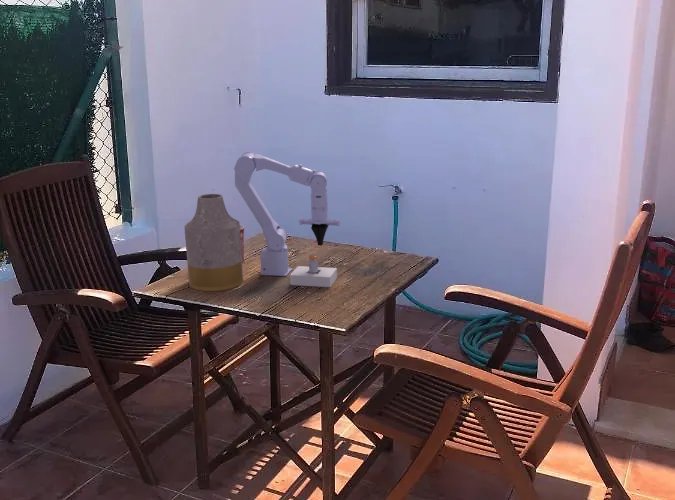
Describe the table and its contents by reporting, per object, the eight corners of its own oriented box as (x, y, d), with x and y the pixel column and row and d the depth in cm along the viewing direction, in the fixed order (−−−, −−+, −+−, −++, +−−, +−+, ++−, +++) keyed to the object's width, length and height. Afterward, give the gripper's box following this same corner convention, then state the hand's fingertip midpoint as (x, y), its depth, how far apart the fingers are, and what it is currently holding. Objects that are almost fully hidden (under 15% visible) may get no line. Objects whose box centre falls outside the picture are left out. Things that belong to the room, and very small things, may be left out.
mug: (251, 260, 275) (249, 225, 271) (237, 266, 267) (234, 231, 264) (224, 255, 281) (222, 222, 277) (209, 262, 273) (207, 227, 269)
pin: (308, 282, 249) (307, 257, 246) (311, 279, 252) (310, 254, 249) (316, 283, 248) (315, 258, 245) (319, 280, 251) (318, 255, 248)
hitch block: (290, 284, 247) (289, 275, 246) (298, 275, 256) (298, 266, 255) (330, 287, 244) (330, 277, 243) (337, 277, 253) (336, 268, 252)
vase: (196, 295, 239) (188, 204, 231) (184, 278, 256) (176, 193, 247) (249, 286, 246) (244, 198, 238) (234, 271, 262) (229, 188, 254)
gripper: (296, 209, 250) (297, 246, 254) (337, 210, 247) (337, 248, 251) (301, 204, 257) (302, 241, 261) (341, 205, 254) (342, 243, 258)
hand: (320, 244), depth 256 cm, fingers closed
